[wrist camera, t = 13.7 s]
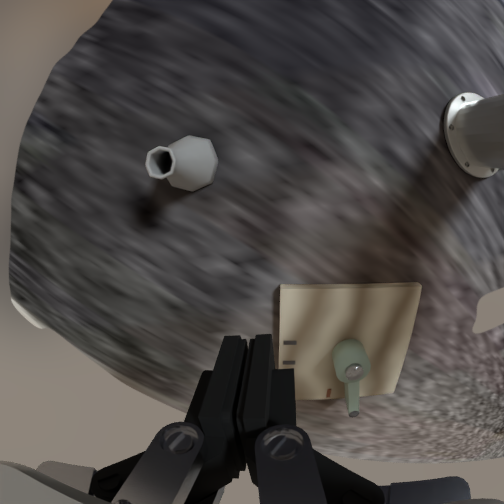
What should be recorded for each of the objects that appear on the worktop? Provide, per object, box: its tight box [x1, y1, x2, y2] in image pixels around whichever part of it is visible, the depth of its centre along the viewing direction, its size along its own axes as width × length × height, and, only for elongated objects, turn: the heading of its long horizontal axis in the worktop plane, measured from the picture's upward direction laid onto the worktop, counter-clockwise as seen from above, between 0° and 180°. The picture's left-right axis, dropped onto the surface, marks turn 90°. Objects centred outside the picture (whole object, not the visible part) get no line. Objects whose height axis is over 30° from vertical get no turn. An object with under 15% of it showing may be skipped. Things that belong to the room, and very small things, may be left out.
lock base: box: [279, 282, 422, 400], centre depth 39 cm, size 20×20×2 cm
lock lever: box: [332, 339, 371, 417], centre depth 37 cm, size 13×5×5 cm, turn 12°
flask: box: [145, 135, 219, 192], centre depth 30 cm, size 7×7×10 cm
